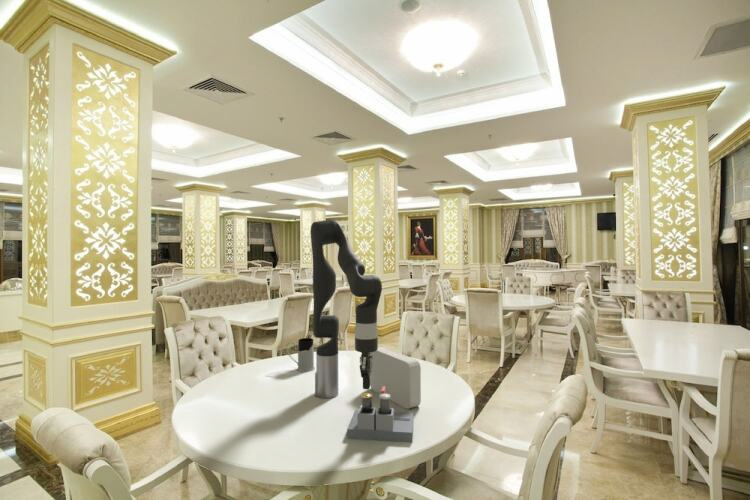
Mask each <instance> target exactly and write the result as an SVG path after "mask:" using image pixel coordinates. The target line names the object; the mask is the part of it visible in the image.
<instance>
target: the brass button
mask: <svg viewBox="0 0 750 500" xmlns="http://www.w3.org/2000/svg"><path fill="white" fill-rule="evenodd" d="M361 405H362V412H365V413H369V412H371V411H372V408H373V393H372V392H371V393H370V392H365V393H361Z"/></svg>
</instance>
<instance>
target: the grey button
mask: <svg viewBox="0 0 750 500" xmlns="http://www.w3.org/2000/svg"><path fill="white" fill-rule="evenodd" d="M390 398H391V396H390V395H389V394H379V408H380V412H381V413H389V412H390V408H391V400H390Z"/></svg>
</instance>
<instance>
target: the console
mask: <svg viewBox="0 0 750 500" xmlns="http://www.w3.org/2000/svg"><path fill="white" fill-rule="evenodd" d="M394 409H395V408H393V407H392V408H391V407H390V412H389V413H381V412H380V407H372V411H371V412H369V413H365V412H362V407H361V406H360V407H359V409H354V412H353V415H352V417H351V419H350V421H349V425H348V427H347V429H346V430H347V431H346V433H347V439H348V440H349V439H353V440H367V441H368V440H370V441H387V442H403V443H404V442H405V443H414V442H413V441H414V440H413V439H414V438H413V436H414V435H413V434H414V412H411V411H410V412H408V411H395V410H394Z"/></svg>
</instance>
